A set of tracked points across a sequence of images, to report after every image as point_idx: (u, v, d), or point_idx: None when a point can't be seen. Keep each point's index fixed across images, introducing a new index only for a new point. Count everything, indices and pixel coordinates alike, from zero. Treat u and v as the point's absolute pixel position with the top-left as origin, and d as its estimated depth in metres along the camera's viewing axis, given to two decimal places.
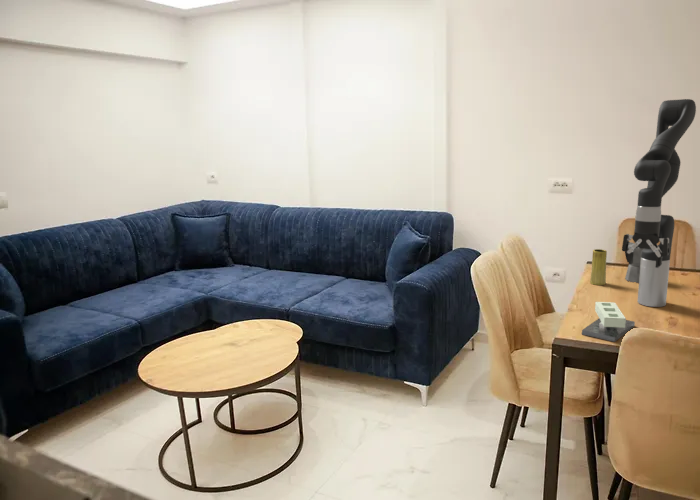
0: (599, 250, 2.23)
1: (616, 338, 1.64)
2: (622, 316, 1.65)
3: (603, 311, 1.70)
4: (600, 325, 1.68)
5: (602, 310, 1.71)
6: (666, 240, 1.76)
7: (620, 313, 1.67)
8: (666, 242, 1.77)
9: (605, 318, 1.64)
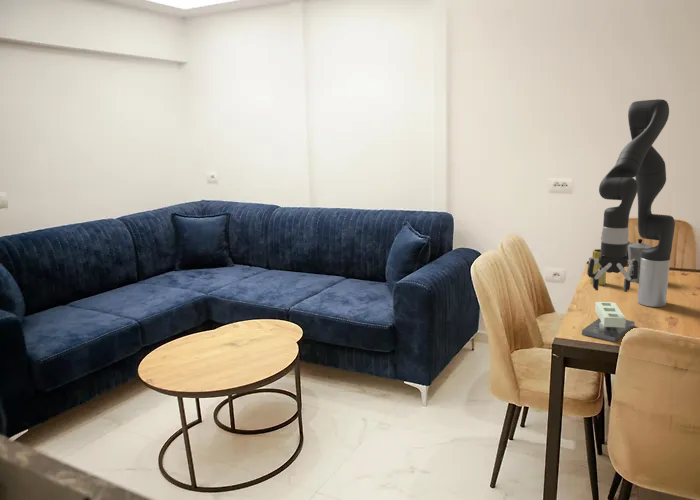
0: (599, 250, 2.23)
1: (616, 338, 1.64)
2: (622, 316, 1.65)
3: (603, 311, 1.70)
4: (600, 325, 1.68)
5: (602, 310, 1.71)
6: None
7: (620, 313, 1.67)
8: None
9: (605, 318, 1.64)
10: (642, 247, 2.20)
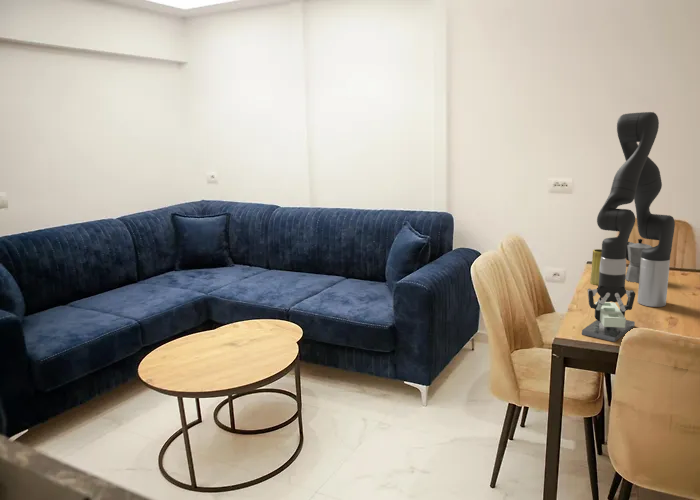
0: (599, 250, 2.23)
1: (616, 338, 1.64)
2: (622, 316, 1.65)
3: (603, 311, 1.70)
4: (600, 325, 1.68)
5: (602, 310, 1.71)
6: None
7: (620, 313, 1.67)
8: None
9: (605, 318, 1.64)
10: (642, 247, 2.20)
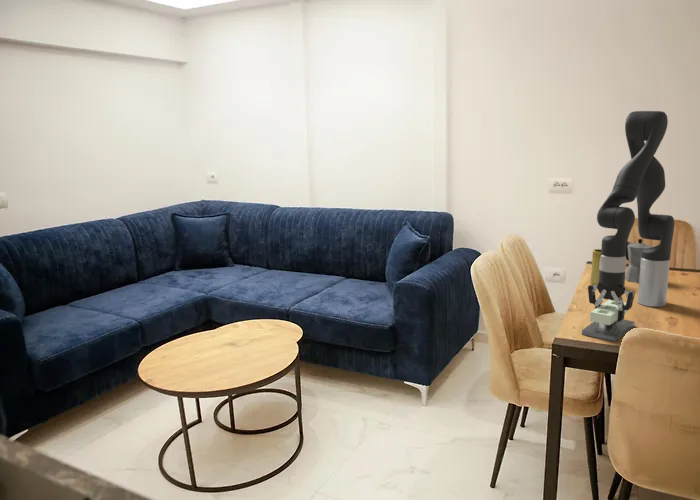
0: (599, 250, 2.23)
1: (616, 338, 1.64)
2: (610, 314, 1.65)
3: (599, 307, 1.71)
4: (600, 325, 1.68)
5: (600, 306, 1.72)
6: None
7: (613, 311, 1.67)
8: None
9: (591, 313, 1.68)
10: (642, 247, 2.20)
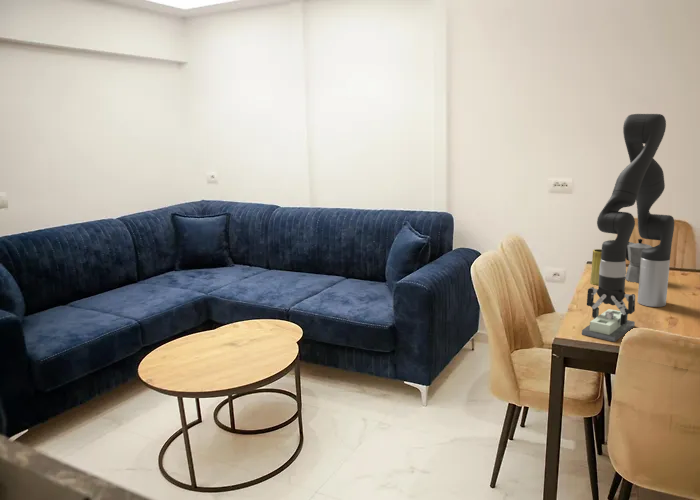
0: (599, 250, 2.23)
1: (616, 338, 1.64)
2: (610, 323, 1.66)
3: (599, 317, 1.72)
4: None
5: (600, 316, 1.73)
6: None
7: (613, 321, 1.68)
8: None
9: (591, 322, 1.68)
10: (642, 247, 2.20)
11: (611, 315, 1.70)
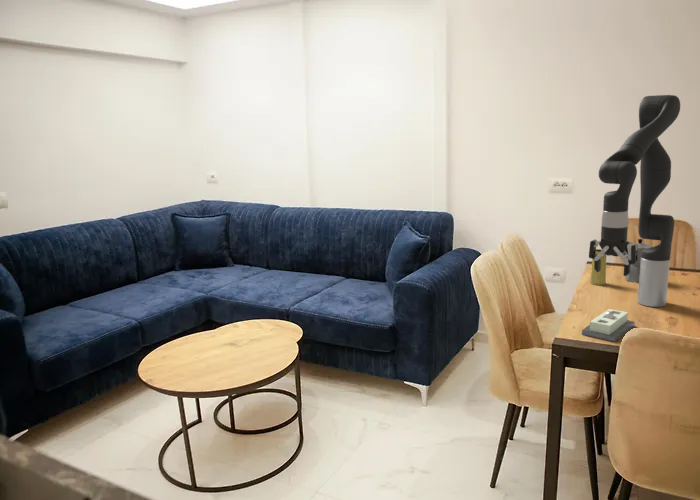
0: (599, 250, 2.23)
1: (616, 338, 1.64)
2: (610, 323, 1.66)
3: (599, 317, 1.72)
4: None
5: (600, 316, 1.73)
6: None
7: (613, 321, 1.68)
8: None
9: (591, 322, 1.68)
10: (642, 247, 2.20)
11: (611, 315, 1.70)
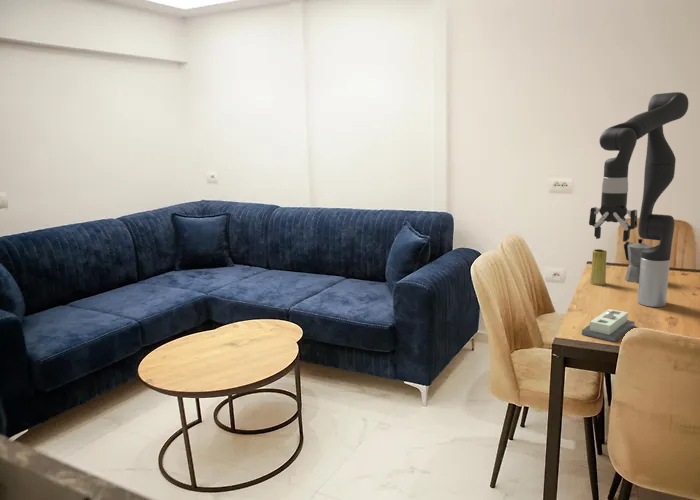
0: (599, 250, 2.23)
1: (616, 338, 1.64)
2: (610, 323, 1.66)
3: (599, 317, 1.72)
4: None
5: (600, 316, 1.73)
6: None
7: (613, 321, 1.68)
8: None
9: (591, 322, 1.68)
10: (642, 247, 2.20)
11: (611, 315, 1.70)
